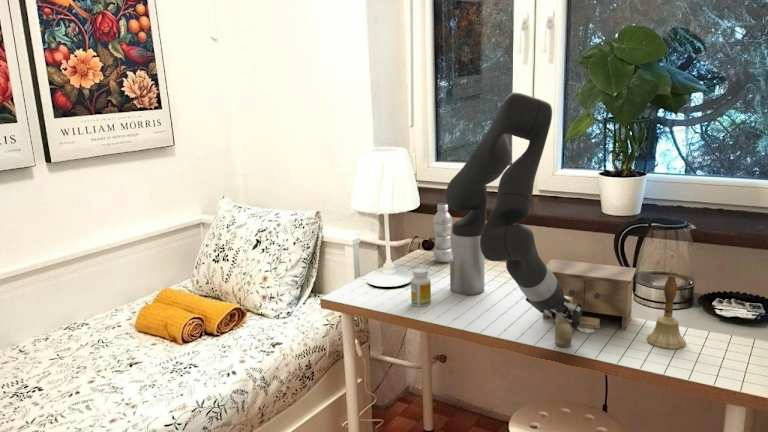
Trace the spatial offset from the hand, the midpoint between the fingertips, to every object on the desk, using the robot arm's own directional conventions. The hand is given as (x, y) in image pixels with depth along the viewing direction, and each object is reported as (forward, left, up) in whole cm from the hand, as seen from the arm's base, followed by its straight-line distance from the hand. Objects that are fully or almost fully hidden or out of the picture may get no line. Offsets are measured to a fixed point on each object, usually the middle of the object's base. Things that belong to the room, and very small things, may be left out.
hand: (568, 322), depth 140 cm
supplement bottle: (-42, +9, -5) cm, 43 cm away
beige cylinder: (0, +4, -5) cm, 6 cm away
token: (+3, +8, -5) cm, 10 cm away
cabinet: (+1, +17, -5) cm, 18 cm away
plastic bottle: (-52, +49, -5) cm, 71 cm away
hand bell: (+20, +9, -5) cm, 23 cm away
